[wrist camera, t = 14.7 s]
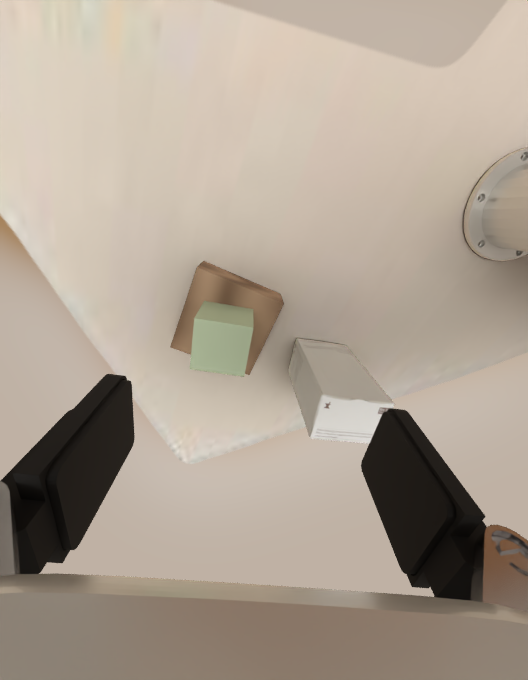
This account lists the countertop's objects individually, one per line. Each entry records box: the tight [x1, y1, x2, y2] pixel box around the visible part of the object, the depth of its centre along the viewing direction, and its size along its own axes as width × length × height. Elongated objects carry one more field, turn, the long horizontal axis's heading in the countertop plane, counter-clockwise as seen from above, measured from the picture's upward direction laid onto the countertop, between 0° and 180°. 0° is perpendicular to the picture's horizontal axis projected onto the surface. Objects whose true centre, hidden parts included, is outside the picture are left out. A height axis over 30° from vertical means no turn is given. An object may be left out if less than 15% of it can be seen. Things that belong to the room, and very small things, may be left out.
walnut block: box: [170, 261, 284, 375], centre depth 36 cm, size 11×11×5 cm
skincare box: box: [288, 338, 394, 444], centre depth 35 cm, size 8×6×15 cm
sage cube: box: [190, 301, 253, 377], centre depth 31 cm, size 6×6×6 cm
